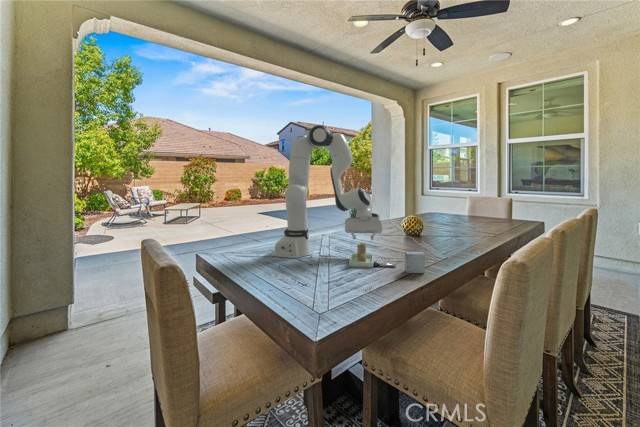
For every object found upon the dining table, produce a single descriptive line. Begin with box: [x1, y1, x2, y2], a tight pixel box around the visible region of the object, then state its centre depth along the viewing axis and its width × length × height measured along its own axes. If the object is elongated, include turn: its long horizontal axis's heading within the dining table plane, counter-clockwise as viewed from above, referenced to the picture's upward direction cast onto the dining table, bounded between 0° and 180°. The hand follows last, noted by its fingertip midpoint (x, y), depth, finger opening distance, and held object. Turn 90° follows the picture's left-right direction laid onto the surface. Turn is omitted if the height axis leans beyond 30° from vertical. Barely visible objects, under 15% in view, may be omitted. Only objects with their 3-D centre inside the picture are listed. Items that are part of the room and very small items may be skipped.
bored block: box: [356, 242, 367, 262], centre depth 151 cm, size 4×4×9 cm
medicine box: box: [404, 251, 426, 274], centre depth 136 cm, size 8×4×9 cm, turn 84°
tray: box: [348, 253, 375, 269], centre depth 151 cm, size 11×15×2 cm
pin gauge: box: [373, 261, 397, 268], centre depth 145 cm, size 10×2×2 cm, turn 79°
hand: (363, 239), depth 162 cm, fingers open, 8 cm apart
